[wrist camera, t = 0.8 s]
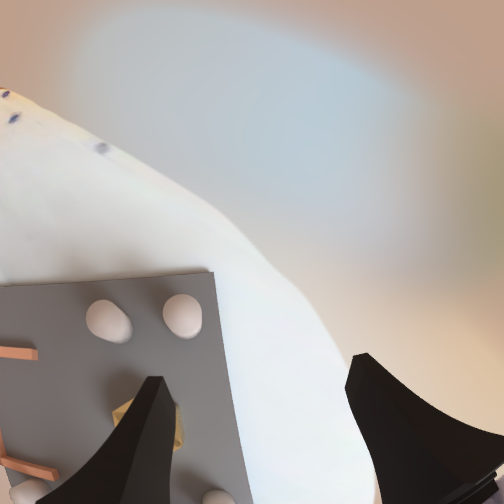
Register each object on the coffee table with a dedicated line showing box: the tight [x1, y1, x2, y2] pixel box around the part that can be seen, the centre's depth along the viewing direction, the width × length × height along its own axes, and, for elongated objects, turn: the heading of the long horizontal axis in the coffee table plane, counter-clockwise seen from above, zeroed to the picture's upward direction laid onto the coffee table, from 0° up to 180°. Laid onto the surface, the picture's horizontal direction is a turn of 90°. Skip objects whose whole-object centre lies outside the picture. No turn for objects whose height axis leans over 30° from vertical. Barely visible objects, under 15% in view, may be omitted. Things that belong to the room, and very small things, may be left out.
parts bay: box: [0, 346, 60, 481], centre depth 15 cm, size 13×8×1 cm, turn 9°
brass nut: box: [112, 398, 185, 452], centre depth 18 cm, size 6×5×3 cm
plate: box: [0, 272, 253, 504], centre depth 16 cm, size 26×26×6 cm
